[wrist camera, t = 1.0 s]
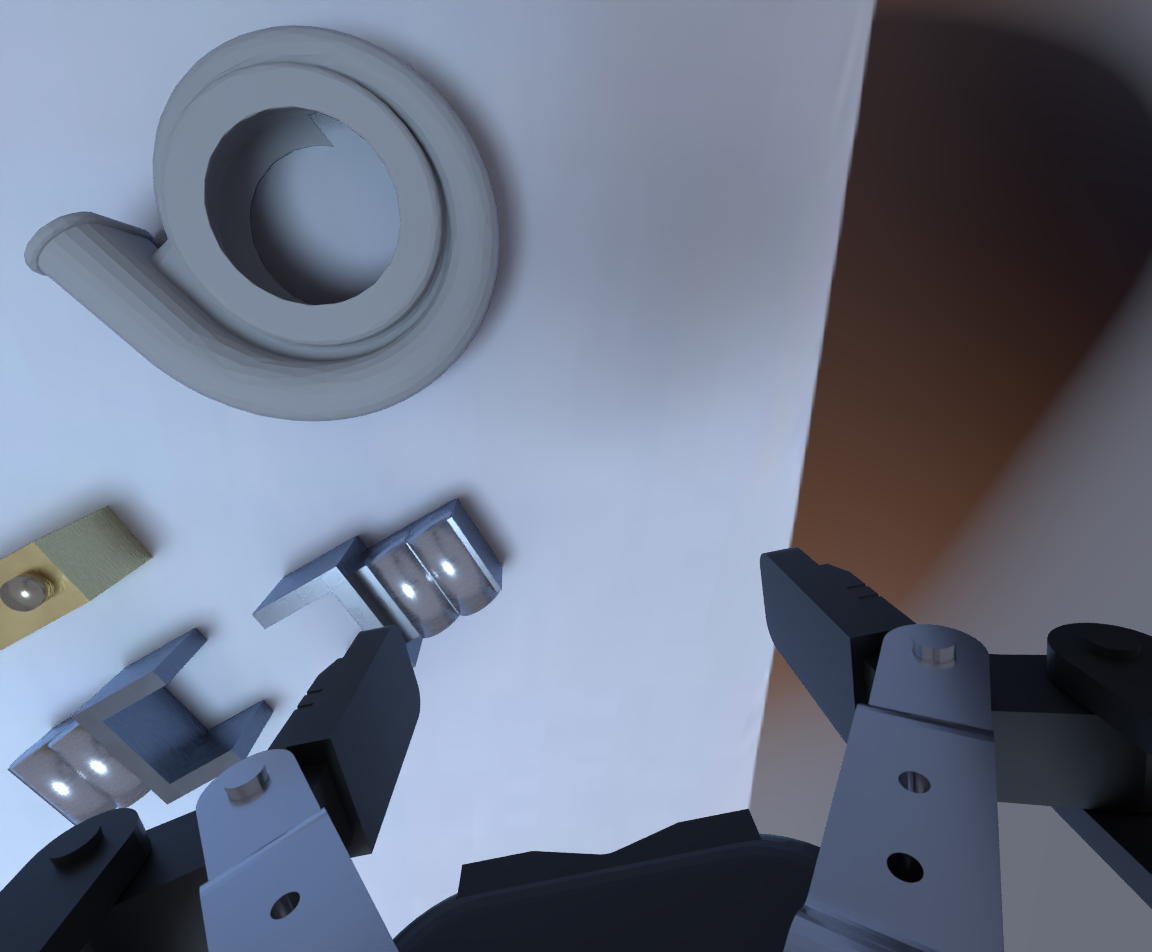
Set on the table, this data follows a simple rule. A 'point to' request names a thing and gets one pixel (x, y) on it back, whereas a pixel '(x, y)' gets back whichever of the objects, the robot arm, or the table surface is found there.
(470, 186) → the turbocharger housing
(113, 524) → the brass block with pins
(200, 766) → the chain ends
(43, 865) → the robot arm
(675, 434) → the table surface
